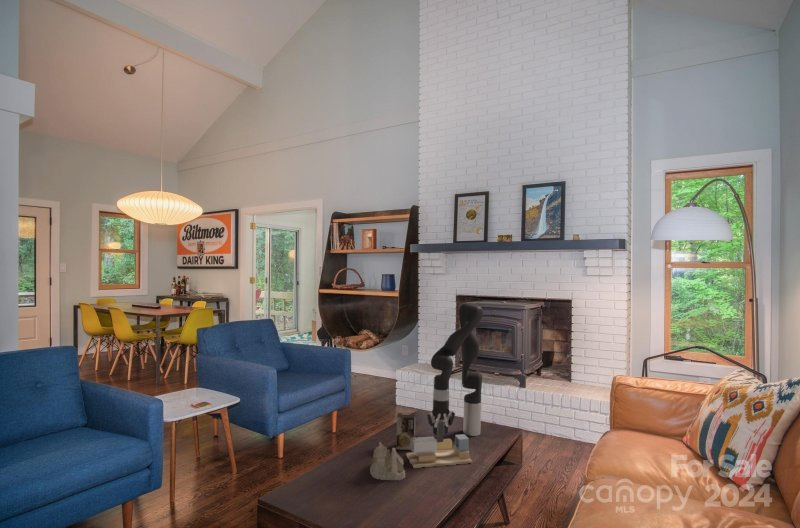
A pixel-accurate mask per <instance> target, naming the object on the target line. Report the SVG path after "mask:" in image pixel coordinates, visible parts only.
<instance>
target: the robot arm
mask: <svg viewBox="0 0 800 528" xmlns="http://www.w3.org/2000/svg"><path fill="white" fill-rule="evenodd" d="M483 316H484V310H483V308H482V307H481V306H479V305H476V304H473V303H468V302H463V303H461V305H460V306H459V310H458V318H459V327H460V328H459V329H457V330H455V331H454V332H452V333H451V334H450V335H449V336H448V338H447V340H446V341H445V343H444V345H442V347H440V349H438V350H437V351H436V352H435V353H434V354H433V356H432V357H431V359H430V366H431V367H432V369H434V370H436V371H441V373H440V374H437V375H435V376H434V378H433V391H432V393H433V394H432V410H431V412H430V411H429V412H426V418H427V423H428V425H429V426H430V427H432V433H433V434H434V436H437V423H438V422H439V421H443V422H444V434H443V435H446V436H447V434H448V433H449V432H448V431H449V426H452V425H453V423H454V419H455V416H456V413H455V411H452V410H451V411H450V409H449V408H450V379H451V375H452V371H453V368H454V361H453V359H452V357H454V356H455V355H456V354H458V351H459V350H460V348H461V361H462V364H461V386H462V388H464V389H469V390H474V391H473V392H470V393H466V394H465V395H464V396H463V420H462V421H463V424H462V425H463V427H462V428H463V429H462V431H463V433H462V434H465V435H466V436H469V437H477V436H480V435H481V427H482V426H481V423H482V420H481V419H482V388H483V387H482V386H483V375H482V372H481V371H470V370H469V369H470V368H471V366H472V364H473V363H474V362H475V361H476V360H477V358H478V357H479V355H480V342H479V339H478V337H477V335H476V333H475V332H474V329H475V328H477V326H478V325H479V323H480V322H481V321H482V319H483ZM448 416H449V417H448ZM432 417H433V421H432Z"/></svg>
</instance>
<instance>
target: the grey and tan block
mask: <svg viewBox="0 0 800 528" xmlns="http://www.w3.org/2000/svg"><path fill="white" fill-rule="evenodd" d="M436 439H437V438H435V437H434V436H421V437H420V436H419V437H415V438H411V450H410V451H411V452H413V454H414V456H415V458H416V459H417V461H418V463H428V462H436V455H435V453H437V441H436Z"/></svg>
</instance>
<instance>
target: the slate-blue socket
mask: <svg viewBox="0 0 800 528" xmlns="http://www.w3.org/2000/svg"><path fill="white" fill-rule="evenodd" d="M453 449H454V453H455V454H456V455H457V456H458V457H459V459H465V458H470V457H471V456H470V454H471V453H470V451H469V450H470V439H469V437H468V435H466V434H464V433H462V434H455V435H454V445H453ZM470 459H471V458H470Z"/></svg>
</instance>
